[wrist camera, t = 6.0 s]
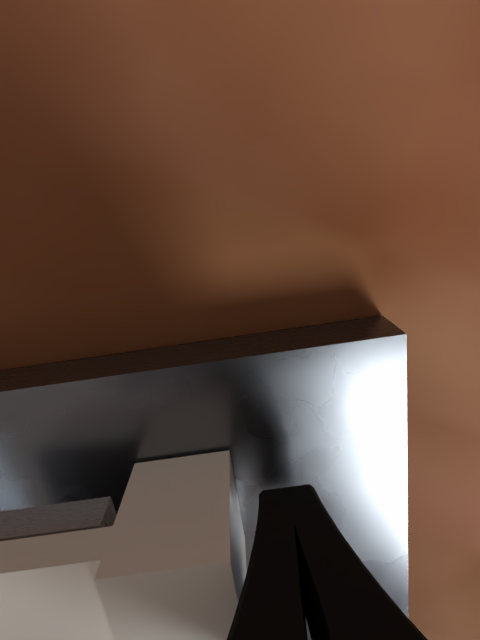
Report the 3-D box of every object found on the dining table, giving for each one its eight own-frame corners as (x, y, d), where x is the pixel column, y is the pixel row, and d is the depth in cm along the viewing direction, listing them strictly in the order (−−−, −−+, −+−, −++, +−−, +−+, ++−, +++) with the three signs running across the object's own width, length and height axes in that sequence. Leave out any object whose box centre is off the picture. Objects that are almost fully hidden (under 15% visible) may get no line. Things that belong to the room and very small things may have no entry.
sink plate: (392, 703, 16) (444, 862, 12) (61, 746, 16) (9, 915, 12) (382, 315, 11) (468, 382, 7) (-109, 386, 11) (-290, 488, 7)
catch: (245, 538, 11) (251, 671, 8) (54, 564, 11) (-12, 705, 8) (229, 450, 10) (230, 561, 7) (21, 479, 10) (-68, 601, 7)
